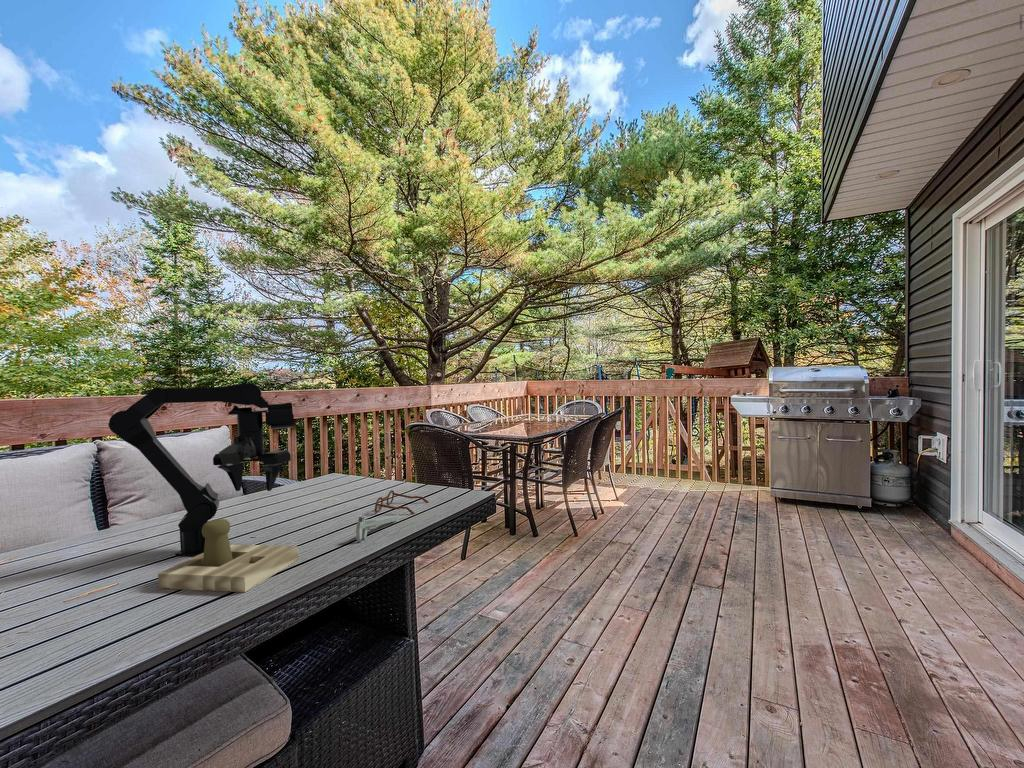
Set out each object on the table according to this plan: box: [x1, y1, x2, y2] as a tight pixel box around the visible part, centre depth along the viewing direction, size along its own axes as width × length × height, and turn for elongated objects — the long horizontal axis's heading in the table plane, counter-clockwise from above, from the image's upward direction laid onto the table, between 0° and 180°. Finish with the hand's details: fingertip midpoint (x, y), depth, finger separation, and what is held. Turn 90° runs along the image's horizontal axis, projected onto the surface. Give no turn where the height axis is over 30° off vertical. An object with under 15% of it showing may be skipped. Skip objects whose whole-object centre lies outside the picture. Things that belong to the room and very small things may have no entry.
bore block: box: [157, 544, 299, 593], centre depth 98 cm, size 20×16×3 cm
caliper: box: [355, 514, 403, 543], centre depth 123 cm, size 20×1×6 cm, turn 163°
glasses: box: [374, 489, 430, 515], centre depth 143 cm, size 13×13×5 cm
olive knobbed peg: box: [202, 518, 233, 567], centre depth 99 cm, size 6×6×11 cm
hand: (253, 490), depth 118 cm, fingers open, 9 cm apart
